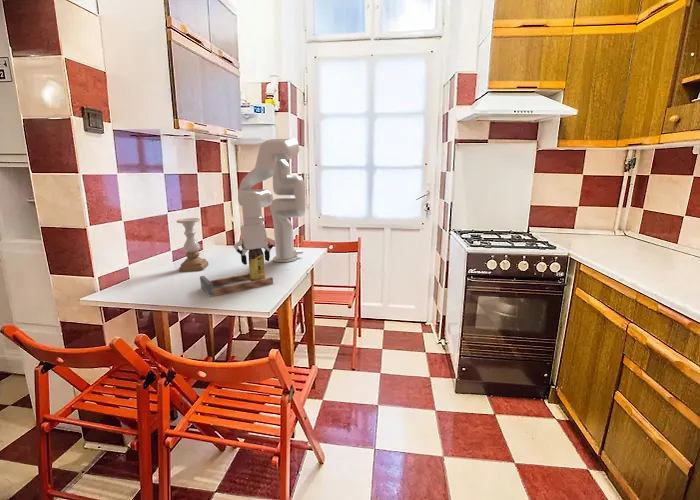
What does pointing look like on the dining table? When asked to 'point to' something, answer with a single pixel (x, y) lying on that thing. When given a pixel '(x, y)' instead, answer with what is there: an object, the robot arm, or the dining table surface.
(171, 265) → the dining table surface
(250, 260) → the sauce bottle
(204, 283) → the wooden u-shaped frame
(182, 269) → the candle holder
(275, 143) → the robot arm
